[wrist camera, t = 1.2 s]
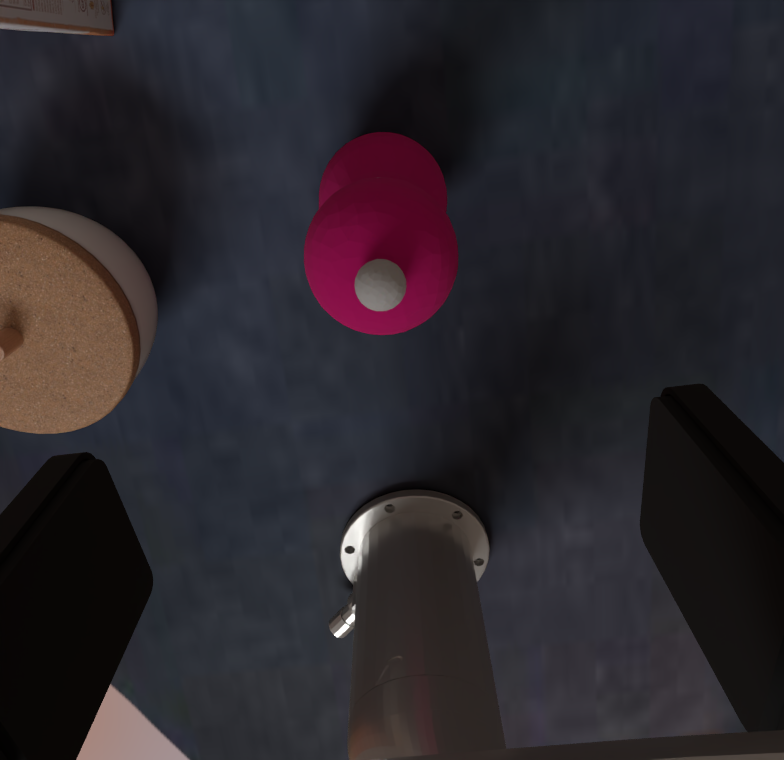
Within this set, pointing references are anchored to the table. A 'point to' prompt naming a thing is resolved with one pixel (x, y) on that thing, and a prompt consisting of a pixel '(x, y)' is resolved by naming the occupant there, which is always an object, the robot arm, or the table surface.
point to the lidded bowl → (68, 319)
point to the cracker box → (58, 16)
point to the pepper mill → (381, 236)
